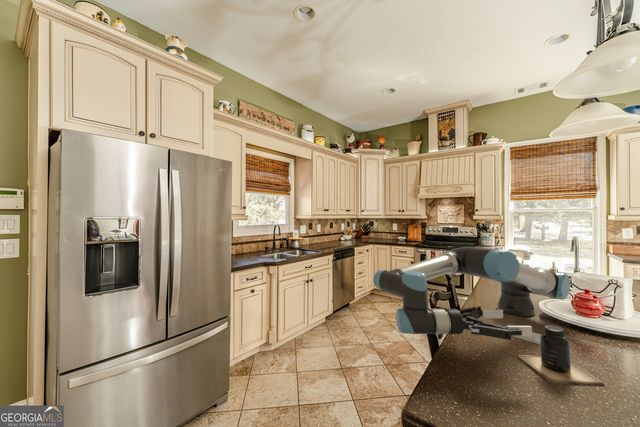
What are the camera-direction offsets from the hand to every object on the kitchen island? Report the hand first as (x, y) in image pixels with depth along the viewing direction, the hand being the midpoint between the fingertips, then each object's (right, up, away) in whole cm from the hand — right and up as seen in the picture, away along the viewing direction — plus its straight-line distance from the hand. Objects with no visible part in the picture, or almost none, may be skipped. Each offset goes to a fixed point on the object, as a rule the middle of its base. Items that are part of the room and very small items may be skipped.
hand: (515, 321), depth 84 cm
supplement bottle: (+10, -13, -3) cm, 17 cm away
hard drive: (+21, -14, +17) cm, 31 cm away
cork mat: (+10, -13, -3) cm, 17 cm away
